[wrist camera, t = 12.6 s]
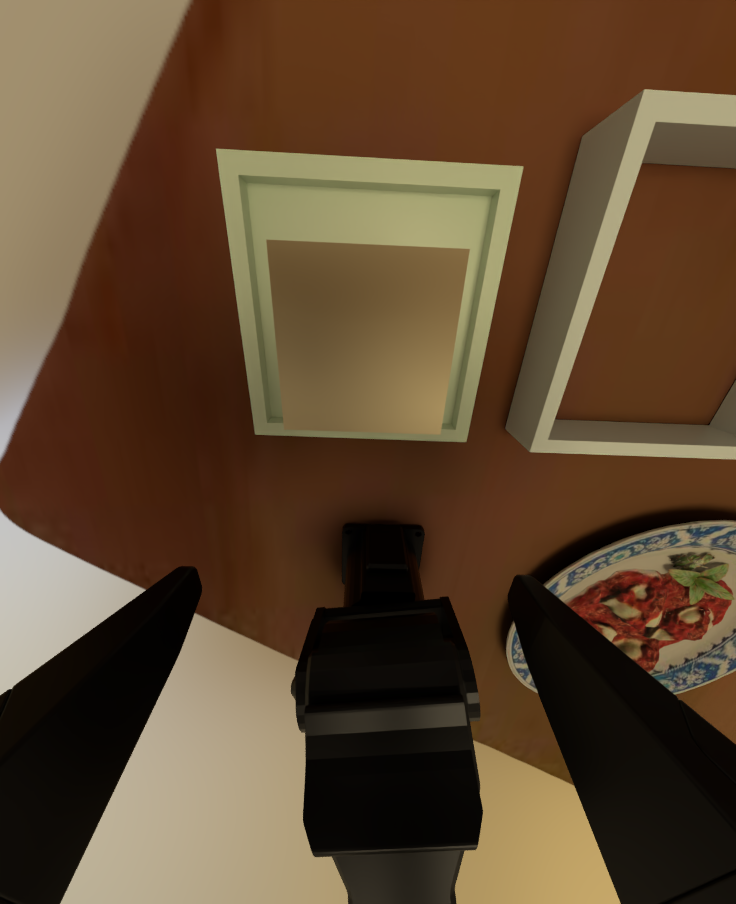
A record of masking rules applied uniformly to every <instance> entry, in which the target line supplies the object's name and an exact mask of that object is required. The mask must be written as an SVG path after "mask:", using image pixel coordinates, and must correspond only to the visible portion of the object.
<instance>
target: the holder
mask: <svg viewBox="0 0 736 904" xmlns="http://www.w3.org/2000/svg"><path fill="white" fill-rule="evenodd" d="M642 163H652V164H669V165H686V166H703V167H720V168H736V95H722V94H707V93H691V92H676V91H660V90H645V89H644V90H643V91H642V92H640V93H639V94H638V95H636V96H635V97H634V98H632V99H631V100H630V101H628V102H627V103H626V104H624V105H623V106H622V107H620V108H619V109H618V110H616V111H615V112H614V113H612V114H611V115H610V116H608V117H607V118H606V119H604V120H603V121H602V122H600V123H599V124H598V125H596V126H595V127H594V128H592V129H591V130H590V131H588V132H587V133H586V134H584V135H583V136H582V140H581V143H580V147H579V151H578V155H577V158H576V162H575V166H574V170H573V174H572V177H571V181H570V185H569V189H568V192H567V196H566V200H565V204H564V208H563V211H562V215H561V219H560V223H559V226H558V230H557V234H556V238H555V242H554V245H553V249H552V253H551V257H550V260H549V264H548V268H547V272H546V276H545V279H544V283H543V287H542V291H541V294H540V298H539V302H538V306H537V310H536V313H535V317H534V321H533V325H532V328H531V332H530V336H529V340H528V344H527V347H526V351H525V355H524V359H523V362H522V366H521V370H520V374H519V378H518V381H517V385H516V389H515V393H514V396H513V400H512V404H511V408H510V412H509V415H508V419H507V423H506V427H505V429H506V430H507V431H508V432H509V433H510V434H511V435H512V436H513V437H514V438H515V439H516V440H517V441H518V442H520V443H521V444H522V445H523V446H524V447H525V448H526V449H527V450H528V451H529V452H542V453H570V454H599V455H627V456H655V457H684V458H712V459H736V380H735V382H734V384H733V386H732V387H731V389H730V391H729V392H728V394H727V396H726V397H725V399H724V401H723V403H722V404H721V406H720V408H719V409H718V411H717V413H716V414H715V416H714V418H713V420H712V421H711V423H710V425H688V424H661V423H635V422H609V421H582V420H556V419H555V417H556V414H557V411H558V408H559V405H560V402H561V399H562V396H563V393H564V390H565V387H566V385H567V382H568V379H569V376H570V373H571V370H572V367H573V364H574V361H575V358H576V355H577V352H578V349H579V346H580V343H581V340H582V337H583V334H584V331H585V329H586V326H587V323H588V320H589V317H590V314H591V311H592V308H593V305H594V302H595V299H596V296H597V293H598V290H599V287H600V284H601V281H602V278H603V276H604V273H605V270H606V267H607V264H608V261H609V258H610V255H611V252H612V249H613V246H614V243H615V240H616V237H617V234H618V231H619V228H620V225H621V222H622V220H623V217H624V214H625V211H626V208H627V205H628V202H629V199H630V196H631V193H632V190H633V187H634V184H635V181H636V178H637V175H638V172H639V169H640V166H641V164H642Z"/></svg>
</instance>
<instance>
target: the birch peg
mask: <svg viewBox="0 0 736 904" xmlns="http://www.w3.org/2000/svg"><path fill="white" fill-rule="evenodd" d="M266 243H267V254H268V264H269V275H270V286H271V296H272V307H273V318H274V328H275V339H276V350H277V360H278V371H279V381H280V392H281V403H282V413H283V424H284V430H312V431H342V432H373V433H403V434H434V435H441V428H442V422H443V416H444V410H445V403H446V397H447V391H448V384H449V378H450V372H451V365H452V359H453V353H454V346H455V340H456V334H457V328H458V321H459V315H460V309H461V302H462V296H463V290H464V283H465V277H466V271H467V265H468V258H469V252H470V249H461V248H439V247H417V246H396V245H374V244H352V243H331V242H309V241H288V240H266Z"/></svg>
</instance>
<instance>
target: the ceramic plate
mask: <svg viewBox="0 0 736 904" xmlns="http://www.w3.org/2000/svg"><path fill="white" fill-rule="evenodd" d="M543 585H544V586H545V587H546V588H547V589H548V590H550V591H551V592H552V593H553V594H554V595H556V596H557V597H558V598H559V599H560V600H562V601H563V602H564V603H565V604H566V605H568V606H569V607H570V608H571V609H572V610H574V611H575V612H576V613H577V614H578V615H580V616H581V617H582V618H583V619H584V620H586V621H587V622H588V623H589V624H590V625H592V626H593V627H594V628H595V629H596V630H598V631H599V632H600V633H601V634H602V635H604V636H605V637H606V638H607V639H608V640H610V641H611V642H612V643H613V644H614V645H616V646H617V647H618V648H619V649H620V650H622V651H623V652H624V653H625V654H626V655H628V656H629V657H630V658H631V659H633V660H634V661H635V662H636V663H637V664H639V665H640V666H641V667H642V668H643V669H645V670H646V671H647V672H648V673H649V674H651V675H652V676H653V677H654V678H655V679H657V680H658V681H659V682H660V683H661V684H663V685H664V686H665V687H666V688H667V689H669V690H670V691H671V692H672V693H673V694H679V693H682V692H685V691H688V690H691V689H694V688H697V687H700V686H702V685H705V684H708V683H710V682H712V681H714V680H717V679H719V678H721V677H723V676H725V675H728V674H730V673H732V672H734V671H736V521H734V520H710V521H695V522H689V523H683V524H676V525H670V526H665V527H661V528H657V529H653V530H649V531H646V532H643V533H639V534H636V535H633V536H630V537H627V538H624V539H621V540H619V541H616V542H614V543H612V544H609V545H607V546H605V547H603V548H601V549H598V550H596V551H594V552H592V553H590V554H588V555H586V556H585V557H583V558H581V559H579V560H578V561H576V562H574V563H573V564H571V565H569V566H567V567H566V568H564V569H563V570H561V571H560V572H558V573H557V574H556V575H554V576H553V577H552V578H551V579H549V580H548V581H547V582H546V583H545V584H543ZM506 655H507V659H508V663H509V666H510V668H511V670H512V672H513V673H514V675H515V676H516V677H517V678H518V679H519V681H520V682H521V683H522V684H524V685H525V686H526V687H528V688H530V689H531V690H533V691H535V692H537V689H536V687H535V684H534V681H533V679H532V676H531V674H530V671H529V669H528V666H527V663H526V661H525V657H524V654H523V651H522V648H521V644H520V641H519V637H518V634H517V630H516V627H515V623H514V620H513V622H512V625H511V627H510V629H509V632H508V636H507V642H506ZM537 693H538V692H537Z"/></svg>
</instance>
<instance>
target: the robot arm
mask: <svg viewBox="0 0 736 904" xmlns="http://www.w3.org/2000/svg"><path fill="white" fill-rule="evenodd" d="M347 530H351V531H347ZM416 532H420V533H416ZM424 535H425V533H424V529H423V528H422V527H421V526H403V525H369V524H346V525H344V526H343V530H342V583H343V584H345V592H344V606H343V607H338V608H327V609H326V608H325V607H321V608H317V609H316V612H315V615H314V618H313V619H312V621H311V624H310V627H309V630H308V633H307V636H306V640H305V643H304V646H303V649H302V652H301V655H300V658H299V661H298V664H297V667H296V671H295V677H294V679H293V681H292V684H291V694H292V696H293V697H294V698H295V700H296V717H297V723H298V726H299V730H300V731H301V732H305V741H306V769H305V771H306V772H305V791H304V809H303V823H304V827H305V830H306V834H307V837H308V841H309V844H310V848H311V851H312V853H313V855H314V856H315V857H330V856H332V858H333V860H334V862H335V865H336V867H337V869H338V871H339V874H340V876H341V878H342V880H343V883H344V885H345V887H346V889H347V892H348V904H456V896H455V883H456V880H457V877H458V873H459V869H460V865H461V862H462V858H463V854H464V850H476V849H477V846H478V841H479V835H480V828H481V822H482V815H483V810H482V804H481V798H480V781H479V775H478V769H477V763H476V757H475V750H474V744H473V738H472V732H471V726H470V721H479V720H480V702H479V695H478V689H477V684H476V679H475V674H474V669H473V665H472V661H471V657H470V654H469V651H468V648H467V645H466V642H465V639H464V637H463V634H462V631H461V629H460V626H459V623H458V621H457V618H456V616H455V613H454V610H453V608H452V605H451V602H450V600H449V597H448V596H447V597H440V599H430V600H424V595H423V590H422V585H421V579H420V574H419V566H420V560H421V554H422V547H423V541H424ZM201 593H202V585H201V581H200V578H199V575H198V571H197V569H196V568H195V567H193V566H181V567H178V568H176V569H175V570H173V571H172V572H171V573H169V574H168V575H166V576H165V577H164V578H162V579H161V580H160V581H158V582H157V583H155V584H154V585H153V586H151V587H150V588H148V589H147V590H146V591H144V592H143V593H142V594H140V595H139V596H137V597H136V598H135V599H133V600H132V601H130V602H129V603H128V604H126V605H125V606H124V607H122V608H121V609H119V610H118V611H117V612H115V613H114V614H113V615H111V616H110V617H108V618H107V619H106V620H104V621H103V622H101V623H100V624H99V625H97V626H96V627H95V628H93V629H92V630H91V631H89V632H88V633H86V634H85V635H83V636H82V637H81V638H80V639H78V640H77V641H75V642H74V643H72V644H71V645H70V646H68V647H67V648H66V649H64V650H63V651H61V652H60V653H59V654H57V655H56V656H54V657H53V658H52V659H50V660H49V661H48V662H46V663H45V664H44V665H42V666H41V667H39V668H38V669H37V670H35V671H34V672H32V673H31V674H29V675H28V676H27V677H25V678H24V679H23V680H21V681H20V682H19V683H17V684H16V685H15V686H14V687H13V688H12V689H9V690H7V691H6V692H4V693H3V694H2V695H0V904H60V903H61V900H62V899H63V896H64V894H65V892H66V890H67V888H68V886H69V884H70V882H71V880H72V878H73V876H74V873H75V871H76V869H77V867H78V865H79V863H80V861H81V859H82V857H83V855H84V853H85V850H86V848H87V846H88V844H89V842H90V840H91V838H92V836H93V834H94V832H95V829H96V827H97V825H98V823H99V821H100V819H101V817H102V815H103V813H104V811H105V809H106V806H107V804H108V802H109V800H110V798H111V796H112V794H113V792H114V789H115V788H116V786H117V784H118V781H119V779H120V777H121V775H122V773H123V771H124V769H125V767H126V765H127V762H128V760H129V758H130V756H131V754H132V752H133V750H134V748H135V746H136V744H137V742H138V740H139V737H140V735H141V733H142V731H143V729H144V727H145V725H146V723H147V721H148V719H149V717H150V714H151V712H152V710H153V708H154V706H155V704H156V702H157V700H158V697H159V696H160V694H161V691H162V689H163V687H164V685H165V683H166V681H167V679H168V677H169V675H170V673H171V670H172V668H173V666H174V664H175V662H176V660H177V658H178V655H179V653H180V651H181V648H182V646H183V643H184V640H185V638H186V635H187V632H188V629H189V627H190V624H191V621H192V619H193V616H194V613H195V610H196V608H197V605H198V602H199V600H200V597H201ZM508 602H509V606H510V610H511V613H512V617H513V620H514V623H515V627H516V630H517V634H518V637H519V641H520V644H521V648H522V651H523V654H524V657H525V661H526V663H527V666H528V669H529V671H530V674H531V676H532V679H533V681H534V684H535V687H536V689H537V692H538V694H539V697H540V699H541V702H542V704H543V707H544V709H545V712H546V714H547V717H548V720H549V722H550V725H551V727H552V730H553V732H554V735H555V737H556V740H557V742H558V745H559V748H560V750H561V753H562V755H563V758H564V760H565V763H566V765H567V768H568V770H569V773H570V775H571V778H572V781H573V783H574V786H575V788H576V791H577V793H578V796H579V798H580V801H581V803H582V806H583V809H584V811H585V813H586V816H587V819H588V821H589V824H590V826H591V829H592V831H593V834H594V836H595V839H596V842H597V844H598V847H599V849H600V852H601V854H602V857H603V859H604V862H605V864H606V867H607V870H608V872H609V875H610V877H611V880H612V882H613V885H614V887H615V890H616V892H617V895H618V898H619V900H620V903H621V904H736V744H734V743H733V742H732V741H731V740H730V739H728V738H727V737H726V736H725V735H723V734H722V733H721V732H720V731H718V730H717V729H716V728H715V727H714V726H712V725H711V724H710V723H709V722H707V721H706V720H705V719H704V718H702V717H701V716H700V715H699V714H698V713H696V712H695V711H694V710H693V709H692V708H690V707H689V706H688V705H687V704H686V703H684V702H683V701H682V700H678V698H677V696H676V695H675V694H673V693H672V692H671V691H670V690H669V689H667V688H666V687H665V686H664V685H663V684H661V683H660V682H659V681H658V680H657V679H655V678H654V677H653V676H652V675H651V674H649V673H648V672H647V671H646V670H645V669H643V668H642V667H641V666H640V665H639V664H637V663H636V662H635V661H634V660H633V659H631V658H630V657H629V656H628V655H626V654H625V653H624V652H623V651H622V650H620V649H619V648H618V647H617V646H616V645H614V644H613V643H612V642H611V641H610V640H608V639H607V638H606V637H605V636H604V635H602V634H601V633H600V632H599V631H598V630H596V629H595V628H594V627H593V626H592V625H590V624H589V623H588V622H587V621H586V620H584V619H583V618H582V617H581V616H580V615H578V614H577V613H576V612H575V611H574V610H572V609H571V608H570V607H569V606H568V605H566V604H565V603H564V602H563V601H562V600H560V599H559V598H558V597H557V596H556V595H554V594H553V593H552V592H551V591H550V590H548V589H547V588H546V587H545V586H544V585H542V584H541V583H540V582H539V581H538V580H536V579H535V578H534V577H532V576H530V575H516V576H515V577H514V579H513V582H512V585H511V587H510V590H509V593H508Z"/></svg>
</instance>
